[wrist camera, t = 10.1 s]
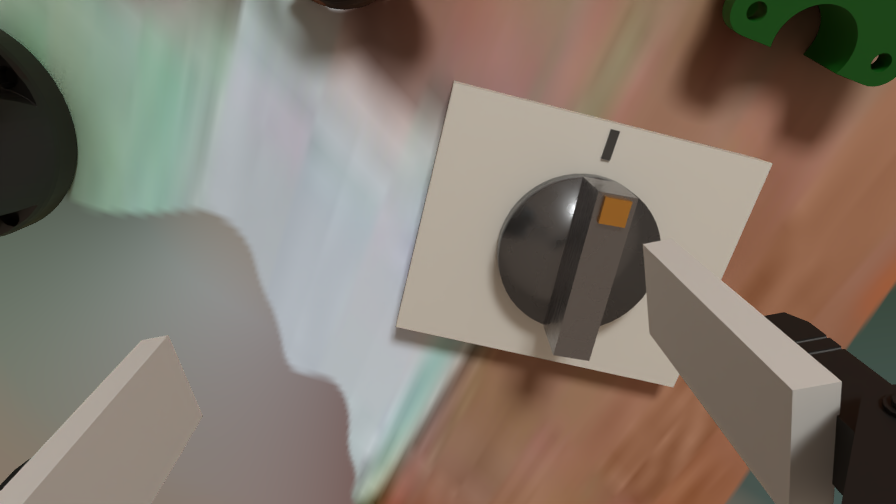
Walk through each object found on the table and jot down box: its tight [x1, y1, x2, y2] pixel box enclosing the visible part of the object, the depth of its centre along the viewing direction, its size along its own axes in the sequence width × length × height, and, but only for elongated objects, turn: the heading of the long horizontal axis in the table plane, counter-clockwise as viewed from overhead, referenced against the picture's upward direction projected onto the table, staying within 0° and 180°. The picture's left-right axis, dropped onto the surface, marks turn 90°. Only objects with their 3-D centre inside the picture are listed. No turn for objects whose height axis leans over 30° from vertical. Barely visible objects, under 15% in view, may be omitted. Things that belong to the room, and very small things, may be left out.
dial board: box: [396, 81, 772, 387], centre depth 41 cm, size 22×18×2 cm
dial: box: [497, 174, 661, 361], centre depth 37 cm, size 11×11×6 cm
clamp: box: [722, 0, 896, 86], centre depth 34 cm, size 12×6×9 cm, turn 64°
